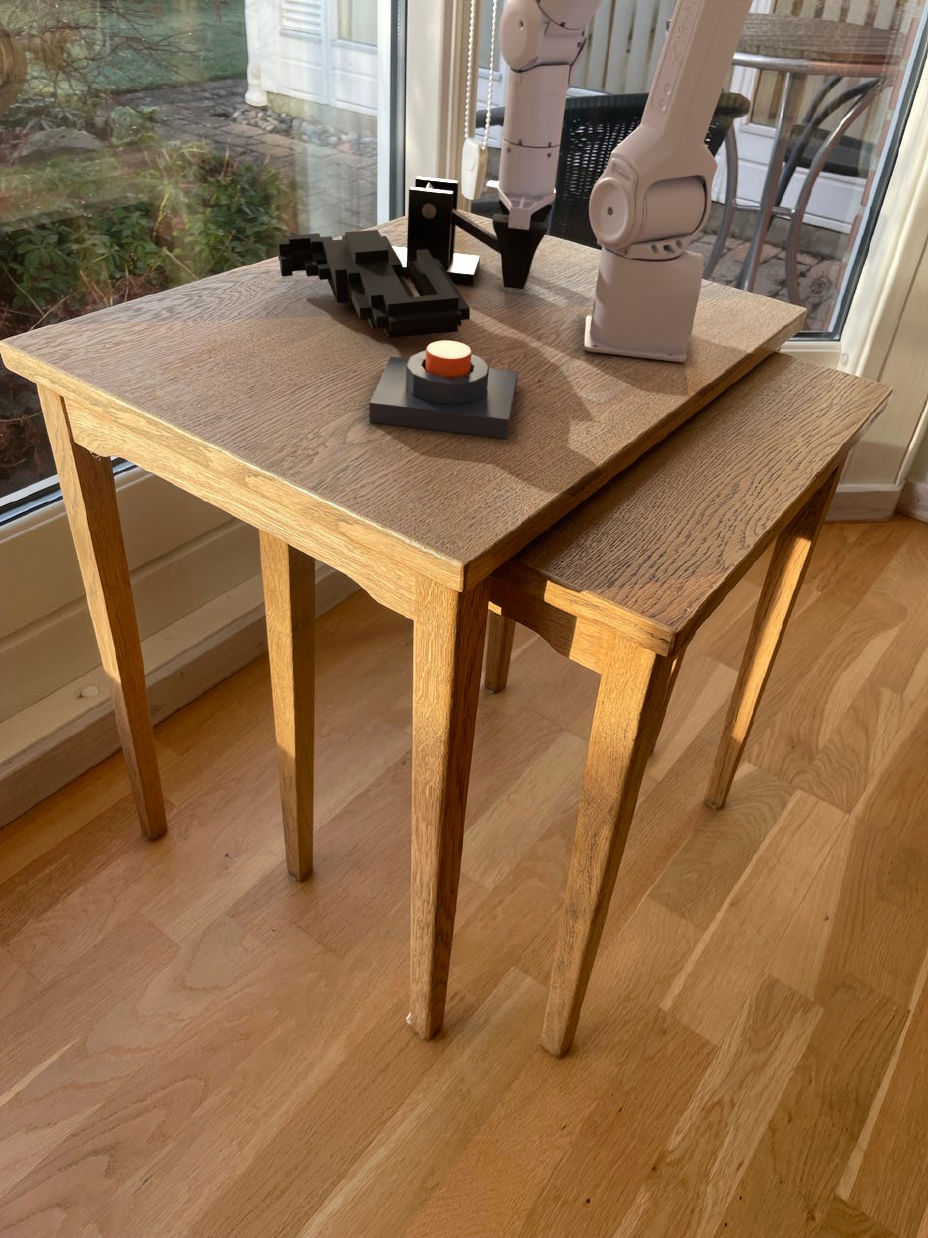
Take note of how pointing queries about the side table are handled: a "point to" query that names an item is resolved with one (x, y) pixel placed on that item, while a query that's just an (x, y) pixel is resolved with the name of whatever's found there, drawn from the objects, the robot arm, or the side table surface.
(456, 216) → the switch lever
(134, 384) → the side table surface
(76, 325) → the side table surface
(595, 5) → the robot arm
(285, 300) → the side table surface
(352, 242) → the tool
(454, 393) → the button box
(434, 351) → the button
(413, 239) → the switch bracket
